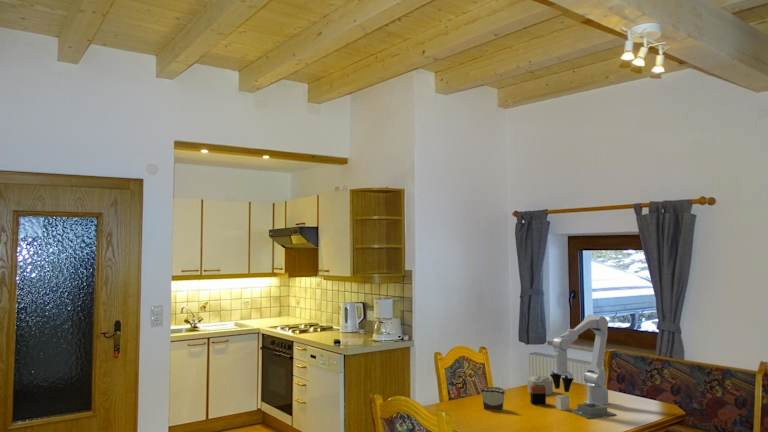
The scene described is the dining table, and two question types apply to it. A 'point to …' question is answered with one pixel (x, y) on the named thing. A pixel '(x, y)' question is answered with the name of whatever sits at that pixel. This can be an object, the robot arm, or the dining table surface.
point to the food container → (493, 398)
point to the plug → (562, 402)
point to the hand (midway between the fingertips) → (562, 390)
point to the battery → (538, 394)
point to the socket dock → (592, 410)
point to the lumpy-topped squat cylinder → (543, 379)
